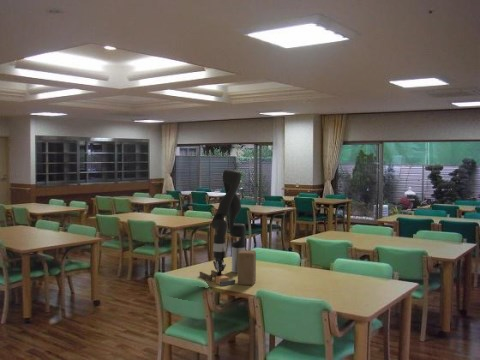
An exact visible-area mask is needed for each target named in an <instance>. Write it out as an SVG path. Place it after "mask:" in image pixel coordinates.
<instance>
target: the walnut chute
mask: <svg viewBox="0 0 480 360" xmlns="http://www.w3.org/2000/svg"><path fill="white" fill-rule="evenodd" d="M210 272H211V273H210V274H207V273H206V272H204V271H199V277H201V278H203V279H205V280H206V281H209V282H213V277H216V276H217V270H213V269H211V271H210ZM223 275H224V276H225V274H223V273H221V276H223Z"/></svg>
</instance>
